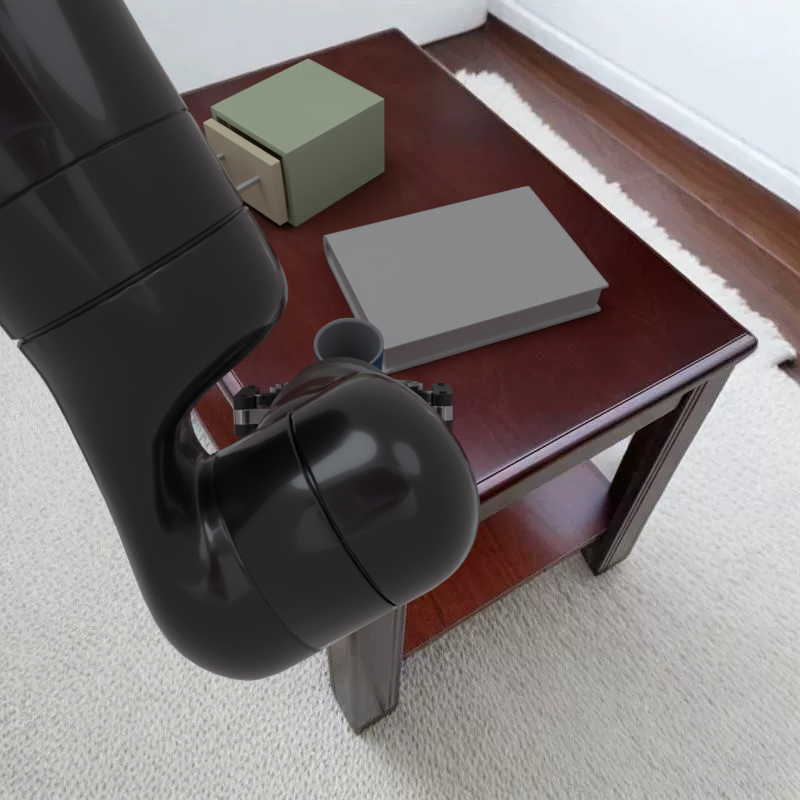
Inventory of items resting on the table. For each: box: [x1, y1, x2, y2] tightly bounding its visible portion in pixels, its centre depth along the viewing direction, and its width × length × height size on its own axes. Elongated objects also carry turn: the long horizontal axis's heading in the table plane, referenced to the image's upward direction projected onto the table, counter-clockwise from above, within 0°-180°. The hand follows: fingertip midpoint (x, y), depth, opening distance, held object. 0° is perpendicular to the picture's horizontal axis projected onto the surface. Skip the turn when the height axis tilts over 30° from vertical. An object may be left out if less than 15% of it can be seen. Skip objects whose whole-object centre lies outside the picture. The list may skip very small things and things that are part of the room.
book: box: [322, 185, 610, 376], centre depth 76 cm, size 18×4×24 cm
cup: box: [313, 317, 384, 371], centre depth 61 cm, size 5×6×12 cm
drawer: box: [202, 117, 289, 226], centre depth 83 cm, size 18×11×8 cm, turn 137°
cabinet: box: [210, 58, 385, 228], centre depth 85 cm, size 15×13×10 cm
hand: (349, 394), depth 55 cm, fingers open, 8 cm apart
